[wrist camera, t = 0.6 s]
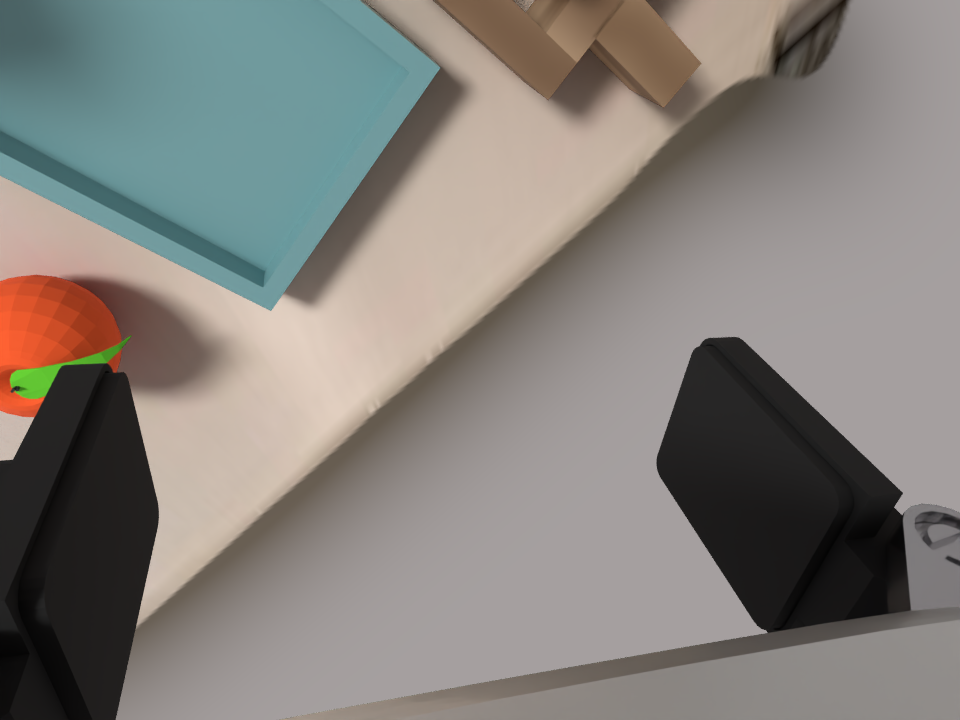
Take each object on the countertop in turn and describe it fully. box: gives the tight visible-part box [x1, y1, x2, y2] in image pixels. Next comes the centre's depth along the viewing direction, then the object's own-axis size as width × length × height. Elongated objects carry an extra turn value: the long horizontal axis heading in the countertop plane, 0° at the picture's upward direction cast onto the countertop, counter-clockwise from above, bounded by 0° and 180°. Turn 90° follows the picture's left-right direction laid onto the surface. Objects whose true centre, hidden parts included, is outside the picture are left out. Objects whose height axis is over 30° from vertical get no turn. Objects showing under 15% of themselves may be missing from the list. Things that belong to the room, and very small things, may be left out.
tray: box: [0, 0, 440, 311], centre depth 28 cm, size 15×20×2 cm
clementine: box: [0, 275, 132, 417], centre depth 32 cm, size 8×7×7 cm
